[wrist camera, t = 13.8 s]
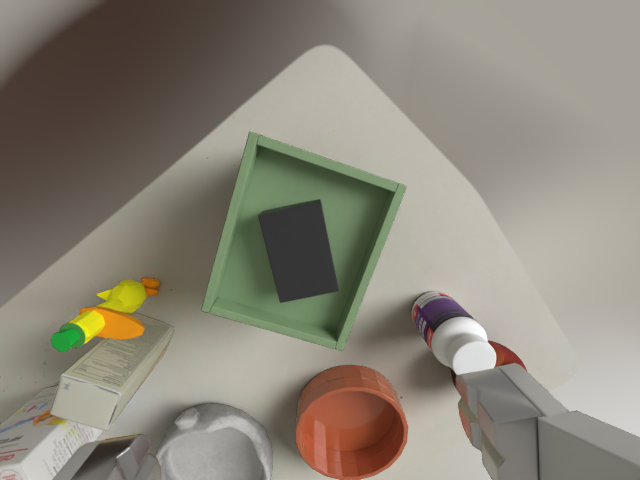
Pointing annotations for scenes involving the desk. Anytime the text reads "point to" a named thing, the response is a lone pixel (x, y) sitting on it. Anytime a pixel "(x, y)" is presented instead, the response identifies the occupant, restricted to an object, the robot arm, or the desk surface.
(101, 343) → the box
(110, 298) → the toy figure
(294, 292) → the block
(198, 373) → the desk surface
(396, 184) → the tray
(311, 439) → the bowl
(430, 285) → the desk surface
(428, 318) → the pill bottle
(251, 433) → the dish
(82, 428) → the ink box
